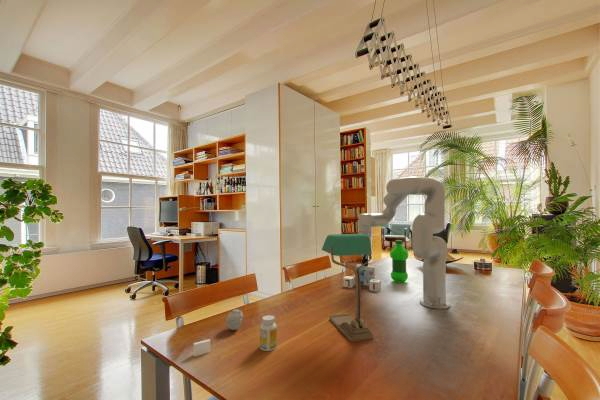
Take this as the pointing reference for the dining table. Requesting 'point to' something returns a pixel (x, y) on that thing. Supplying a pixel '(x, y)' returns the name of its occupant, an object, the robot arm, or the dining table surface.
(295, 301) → the dining table surface
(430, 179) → the robot arm
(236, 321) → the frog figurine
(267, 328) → the supplement bottle
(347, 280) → the numbered block 7
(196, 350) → the eraser
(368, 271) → the light bulb box
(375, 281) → the numbered block 1
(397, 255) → the plastic bottle
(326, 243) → the banker's lamp
